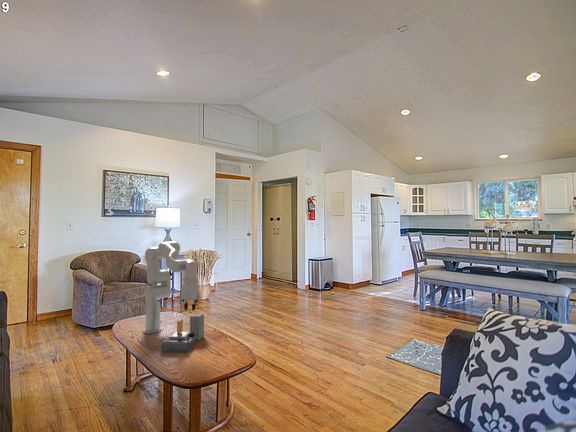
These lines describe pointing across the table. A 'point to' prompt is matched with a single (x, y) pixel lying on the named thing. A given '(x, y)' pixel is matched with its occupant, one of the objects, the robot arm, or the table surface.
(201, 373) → the table surface
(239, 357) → the table surface
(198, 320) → the skincare box
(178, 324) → the breaker lever
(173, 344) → the breaker box
